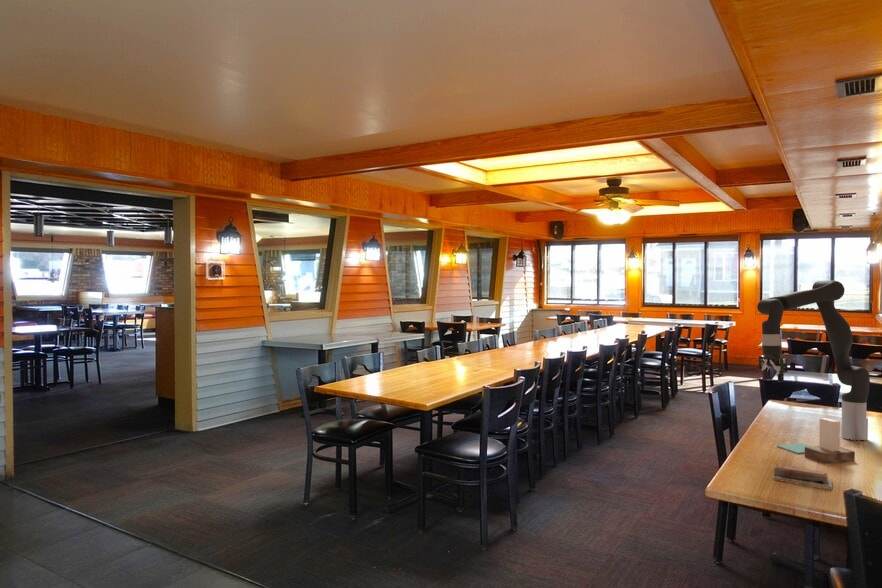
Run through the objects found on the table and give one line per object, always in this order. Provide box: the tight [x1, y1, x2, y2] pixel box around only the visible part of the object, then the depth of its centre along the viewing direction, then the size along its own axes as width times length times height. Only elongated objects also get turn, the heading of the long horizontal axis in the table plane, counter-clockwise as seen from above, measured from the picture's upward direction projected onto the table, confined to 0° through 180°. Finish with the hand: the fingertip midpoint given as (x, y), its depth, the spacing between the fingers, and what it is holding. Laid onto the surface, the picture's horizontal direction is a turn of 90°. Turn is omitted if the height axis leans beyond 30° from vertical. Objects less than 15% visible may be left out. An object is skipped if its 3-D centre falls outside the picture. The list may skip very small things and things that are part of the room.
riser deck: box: [804, 445, 856, 465], centre depth 234 cm, size 14×10×4 cm
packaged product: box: [772, 463, 834, 491], centre depth 208 cm, size 18×5×10 cm
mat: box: [776, 442, 811, 455], centre depth 247 cm, size 14×11×1 cm
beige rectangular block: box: [818, 417, 841, 452], centre depth 233 cm, size 4×6×12 cm, turn 13°
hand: (773, 380), depth 254 cm, fingers open, 8 cm apart
